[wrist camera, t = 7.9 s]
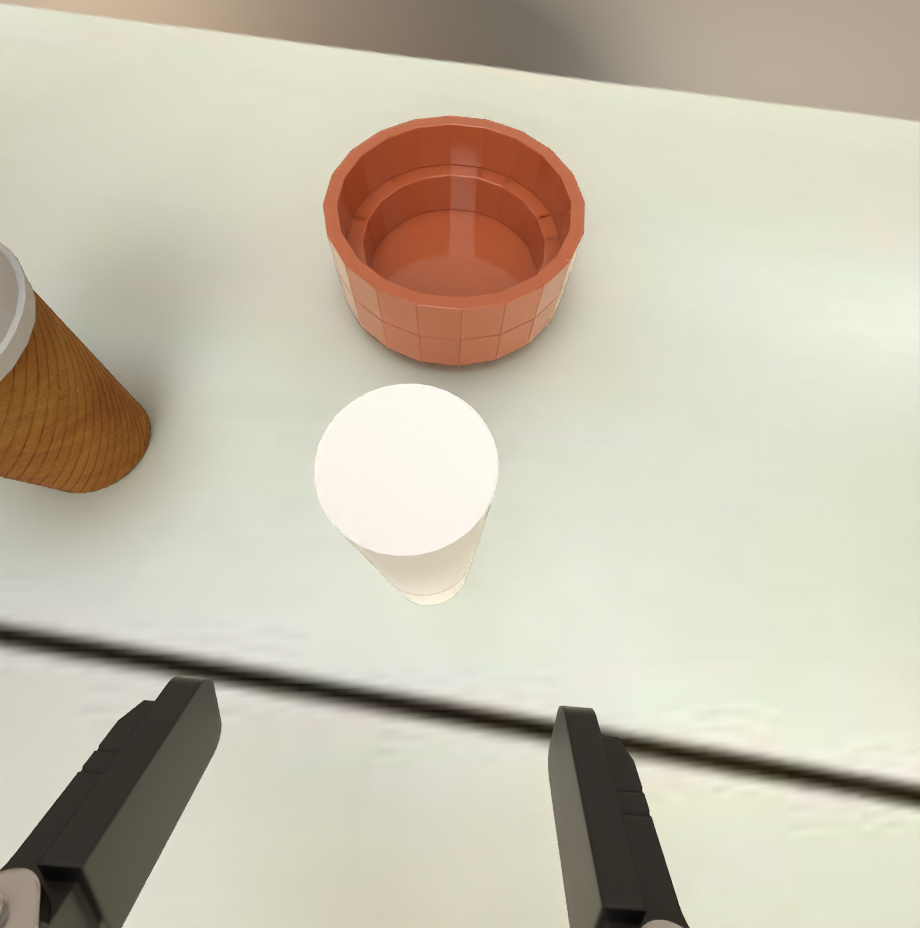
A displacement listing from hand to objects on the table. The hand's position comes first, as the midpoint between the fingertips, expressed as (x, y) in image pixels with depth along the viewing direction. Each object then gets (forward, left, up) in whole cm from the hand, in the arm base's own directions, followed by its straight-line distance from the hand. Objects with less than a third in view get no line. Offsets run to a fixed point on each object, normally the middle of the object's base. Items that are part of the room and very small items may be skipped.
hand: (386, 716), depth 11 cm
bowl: (+19, +15, -13) cm, 28 cm away
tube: (+4, +3, -13) cm, 14 cm away
